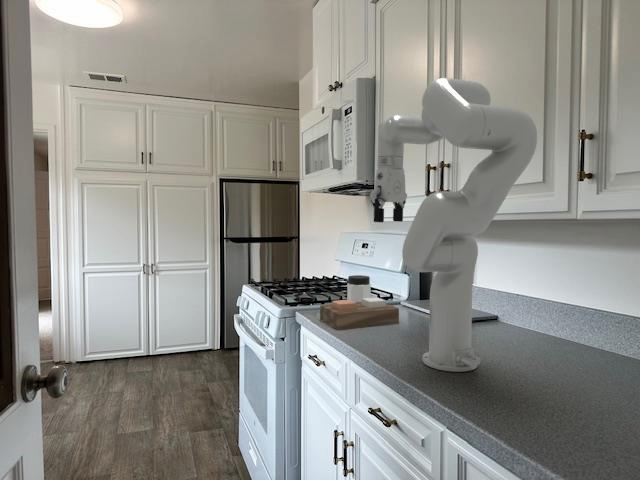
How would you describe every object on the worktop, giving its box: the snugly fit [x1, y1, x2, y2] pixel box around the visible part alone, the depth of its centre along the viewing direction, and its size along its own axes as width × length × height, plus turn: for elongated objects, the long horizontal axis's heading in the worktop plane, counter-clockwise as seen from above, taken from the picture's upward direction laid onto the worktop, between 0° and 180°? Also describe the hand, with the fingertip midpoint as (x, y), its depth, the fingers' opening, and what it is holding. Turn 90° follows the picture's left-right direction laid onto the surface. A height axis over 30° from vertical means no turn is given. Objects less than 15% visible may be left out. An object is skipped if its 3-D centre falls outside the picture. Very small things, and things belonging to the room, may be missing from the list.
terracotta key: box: [331, 299, 356, 311], centre depth 139 cm, size 6×6×4 cm
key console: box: [319, 302, 400, 331], centre depth 141 cm, size 14×22×5 cm, turn 113°
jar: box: [346, 274, 372, 302], centre depth 163 cm, size 9×8×12 cm
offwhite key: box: [361, 296, 387, 308], centre depth 143 cm, size 6×6×4 cm
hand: (388, 221), depth 127 cm, fingers open, 9 cm apart
